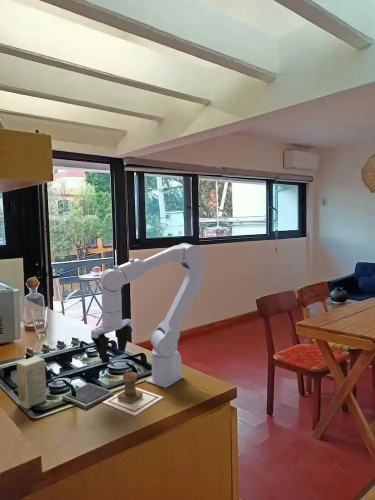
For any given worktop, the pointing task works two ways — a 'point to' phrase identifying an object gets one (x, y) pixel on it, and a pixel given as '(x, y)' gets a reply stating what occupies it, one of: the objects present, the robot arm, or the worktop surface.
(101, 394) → the ink pad
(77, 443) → the worktop surface
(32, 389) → the skincare box
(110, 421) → the worktop surface
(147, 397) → the marked sheet
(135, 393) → the stamp
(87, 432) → the worktop surface
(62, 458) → the worktop surface
